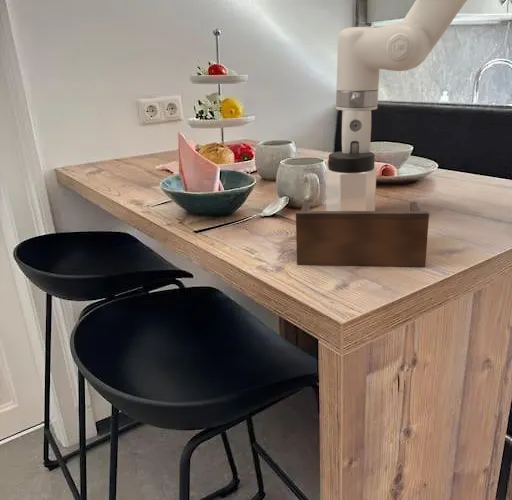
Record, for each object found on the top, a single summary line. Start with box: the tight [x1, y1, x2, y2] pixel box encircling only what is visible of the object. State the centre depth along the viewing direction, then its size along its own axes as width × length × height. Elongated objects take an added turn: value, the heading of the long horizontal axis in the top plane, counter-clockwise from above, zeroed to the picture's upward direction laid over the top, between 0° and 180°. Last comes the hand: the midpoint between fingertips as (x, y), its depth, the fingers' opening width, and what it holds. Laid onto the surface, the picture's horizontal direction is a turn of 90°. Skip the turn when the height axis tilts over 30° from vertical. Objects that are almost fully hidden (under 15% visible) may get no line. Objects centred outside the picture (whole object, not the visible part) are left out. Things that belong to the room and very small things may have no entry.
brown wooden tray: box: [295, 201, 430, 268], centre depth 76 cm, size 18×13×8 cm
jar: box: [325, 150, 377, 211], centre depth 91 cm, size 9×8×12 cm
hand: (352, 197), depth 98 cm, fingers closed
